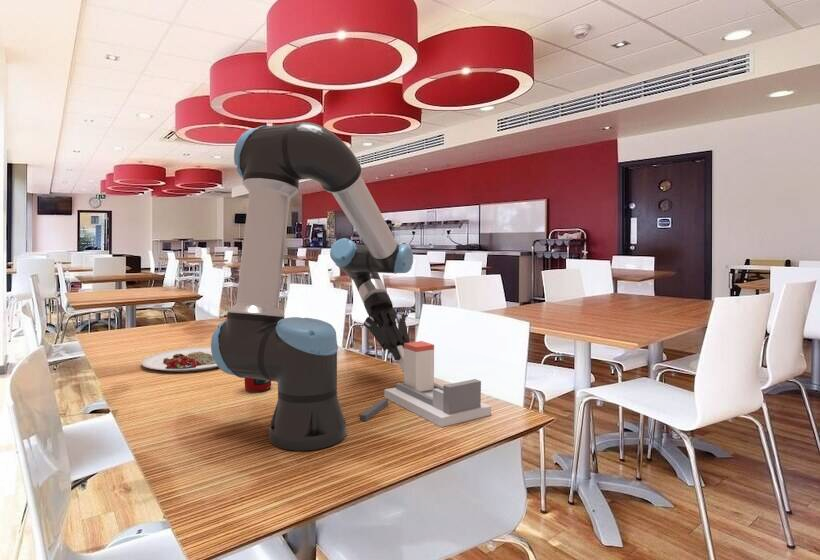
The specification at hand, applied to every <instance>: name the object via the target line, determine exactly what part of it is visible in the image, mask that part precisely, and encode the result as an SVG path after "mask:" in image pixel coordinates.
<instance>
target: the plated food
mask: <svg viewBox="0 0 820 560" xmlns="http://www.w3.org/2000/svg"><path fill="white" fill-rule="evenodd" d="M141 366H143V367H144V368H147V369H151V370H157V371H165V372H174V373H177V372H180V373H181V372H195V371H203V370H211V369H215V368H219V367H218V365H217V364H216V363H215V361H214V359H213V356H212V352H211V346H207V347H205V346H204V347H202V346H201V347H200V346H199V347H189V348H188V347H187V348H179V349H174V350H173V349H172V350H168V351H163V352H158V353H155V354H152V355H149V356H147V357H144V358H143V359H142V360H141Z"/></svg>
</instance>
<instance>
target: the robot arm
mask: <svg viewBox="0 0 820 560" xmlns="http://www.w3.org/2000/svg"><path fill="white" fill-rule="evenodd" d="M233 161H234V165H235V166H237V167H236V172H237V174H238V175H239V176H240V177H241V178H242V185H243V187H244V188H245V189H246V190H247V191H248V201H247V209H246V218H245V225H244V233H243V243H242V249H241V251H242V252H241V258H240V270H239V275H238V286H237V294H236V303H235V304H234V305H233V306H231V307H230V308H229V309H228V310H227V312H226V319H225V320H223V321H222V322H220V323H219V324H218V325H217V327H216V328H215V329H214V331H213V334H212V335H211V340H210V347H211V352H212V356H213V359H214V361H215V363H216V364H217V365H218V367H217V368H218V369H220V371H222V372H223V373H225V374H228V375H231V376H235V377H237V378H241V379H245V378H247V377H248V378H255V379H261V380H268V381H271V382H276V383H277V403H276V405H275V408H274V411H273V414H272V418H271V421H270V425H269V429H268V431H269V433H268V434H269V435H268V438H269V442H270V444H272V446H275V447H277V448H279V449H283V450H286V451H287V450H288V451H295V452H296V451H298V452H299V451H300V452H301V451H302V452H303V451H304V452H305V451H306V452H307V451H313V450H314V451H315V450H316V451H317V450H321V449H325V448H328V447H332V446H334V445H336V444H339V443H340V442H342V441H343V440H344V439H345V437H346V435H347V422H346V419H345V415H344V414H343V410H342V407H341V405H340V402H339V398H338V349H339V344H338V339H337V332H336V329H335V328H334V326H333V325H332V324H331V323H329V322H327V321H324V320H321V319H318V318H311V317H299V316H298V317H297V316H294V317H292V316H291V317H285V314H284V313H283V312H282V311H281V310H280V308H279V301H280V294H281V285H282V275H283V264H284V257H285V248H286V239H287V227H288V220H289V211H290V202H291V201H290V200H291V198H292V197H294V196H295V195H297V194H298V192H299V185H300V181H302V180H313V181H316V182H318V184H320V185H321V187H322V189H324V191H325V192H327V193H331V194H332V196H333V197H334V199H335V200H336V202H337V204H338V205H339V207H340V208H341V210H342V211H343V213H344V215H345V217H347V219H348V221H349V222H350V224H351V226H352V227H353V229H354V230H355V232H356V233H357V235H358V237H359V238H360V240H361V241H362V243H363V244H356V243H355V242H354V241H352V240H351V239H350V238H345V237H343V238H339V239H338V240H336V241H335V242H334V243H333V244H332V245H331V247H330V251H329V257H330V258H331V260H332V262H334V264H335V266H336V267H338V268H339V269H340V270H342V271H343V272H344V273H345V274H346V275H347V276H348V277H349V278H350V279H351V280H352V281H353V283H354V285H355V288H356V289H357V292H358V295H359V296H360V299H361V301H362V303H363V306H364V308H365V309H364V310H365V311H366V312H367V315H368V316H367V317H366V319H365V320H364V322H363V326H364V327H365V328H367V329H368V330H369V331H370V333H371V334H372V336H373V337H374V338H375V340H376V341H377V343H378V345H379V346H380V347H381V349H382V350H384V351H386V350H387V351H388V353H390V354H392V356H393V359H394V361H397V363H398V365H399V367H400V369H401V372H402V373H404V343H410V337H409V333H408V327H407V323H406V319H407V315H406V314H405V313H402V314H399V313H398V312H397V310H395V308H394V306H393V301H392V300H391V298H390V296H389V294H388V291H387V289H386V287H385V284H384V282H383V280H382V279H381V276H380V275H379V273H381V274H382V273H383V274H394V275H396V274H407V273H409V272H410V271H411V269H412V266H413V264H414V263H413V262H414V254H413V250H412V248H411V247H410V246H409V245H404V244H402V243H401V244H399V243H398V242H397V240H396V238H395V236H394V235H393V232H392V231H391V229H390V227H389V225H388V224H387V221H386V220H385V218H384V216H383V214H382V213H381V210H380V208H379V207H378V205H377V204H376V203H377V202H376V201H375V199H374V198H373V196H372V194H371V193H370V192H371V191H370V190H369V188H368V187H367V184H366V183H365V182H364V179H363V178H362V172H363V170H362V165H361V164H360V162H359V161H358V159H357V156H356V155H355V154H354V151H352V150H351V149H350V147H349V146H348V145H347V144H346V143H345V142H344V141H343V140H342V139H341V138H340V137H338V136H337V135H336V134H335V133H333V132H332V131H331V130H330V129H327V128H326V127H324V126H322V125H320V124H317V123H314V122H308V121H307V122H305V121H303V122H297V123H288V124H287V123H286V124H278V125H270V126H269V125H260V126H258V127H254V128H250V129H247V130H246V131H244V132H242V133H241V135H239V138H238V139H237V141H236V143H235V146H234V150H233Z"/></svg>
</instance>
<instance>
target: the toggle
mask: <svg viewBox="0 0 820 560" xmlns="http://www.w3.org/2000/svg"><path fill="white" fill-rule="evenodd" d="M434 383H435V344H433V343H430V342H426V341H423V340H421V341H420V340H419V341H418V340H417V341H411V342H410V341H409V343H404V372H403V384H404V385H407V386H409V387H411V388H413V389H415V390H418V391H420V392H422V391H427V390H432V389H434Z"/></svg>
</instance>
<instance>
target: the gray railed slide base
mask: <svg viewBox="0 0 820 560" xmlns="http://www.w3.org/2000/svg"><path fill="white" fill-rule="evenodd" d="M481 396H482V380H479V379H477V378H476V379H475V378H474V379H469V380H463V381H457V382H453V383H448V384H443V386H442V385H441V384H438V383H436V382H434V389H432V390H427V391H422V392H420V391H418V390H415V389H413V388H411V387H409V386H407V385H404V383H402V382H396V383H395V387H391V388H390V387H389V388H386V389H384V399H387V400H388V401H390V402H393V403H395V404H397V405H399V406H400V407H402V408H404V409H406V410H408V411H410V412H412V413H413V414H416V415H417V416H419V417H422V418H423V419H425V420H427V421H428V422H431V423H433V424H434V425H436V426H439V427H440V428H443V427H448V426H451V425H456V424H460V423H465V422H467V421H468V422H469V421H472V420H476V419H481V418H485V417H489V416H491V415H492V406H491V405H489V404H486V403H484V402H482V401H481V400H482V399H481V398H482V397H481Z"/></svg>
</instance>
